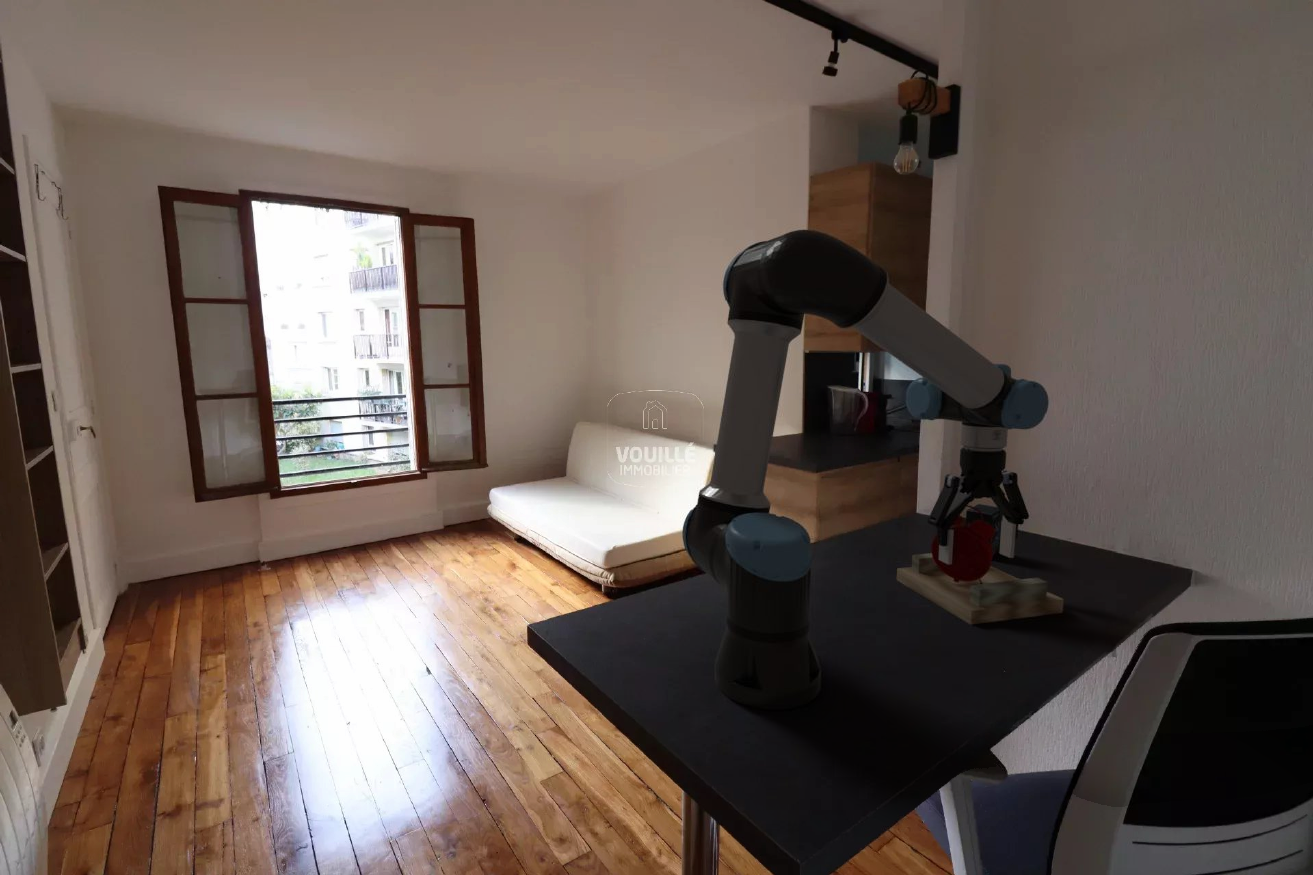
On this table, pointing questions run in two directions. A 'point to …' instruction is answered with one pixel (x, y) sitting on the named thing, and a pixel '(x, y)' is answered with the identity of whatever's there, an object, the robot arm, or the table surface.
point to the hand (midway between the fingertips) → (976, 558)
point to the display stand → (980, 593)
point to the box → (990, 516)
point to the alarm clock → (968, 550)
